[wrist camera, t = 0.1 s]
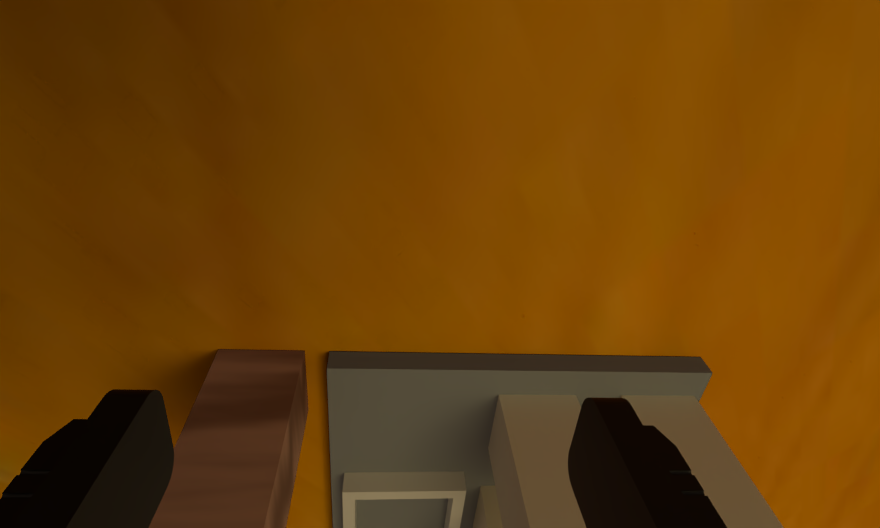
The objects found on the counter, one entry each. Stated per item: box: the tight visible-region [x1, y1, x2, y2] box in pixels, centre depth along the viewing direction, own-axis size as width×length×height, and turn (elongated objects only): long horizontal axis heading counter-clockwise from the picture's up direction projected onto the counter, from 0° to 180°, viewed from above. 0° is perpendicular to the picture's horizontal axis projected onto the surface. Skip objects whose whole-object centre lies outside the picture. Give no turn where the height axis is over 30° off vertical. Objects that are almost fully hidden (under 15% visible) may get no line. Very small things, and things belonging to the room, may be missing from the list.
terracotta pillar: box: [149, 349, 308, 528], centre depth 27 cm, size 5×5×12 cm
